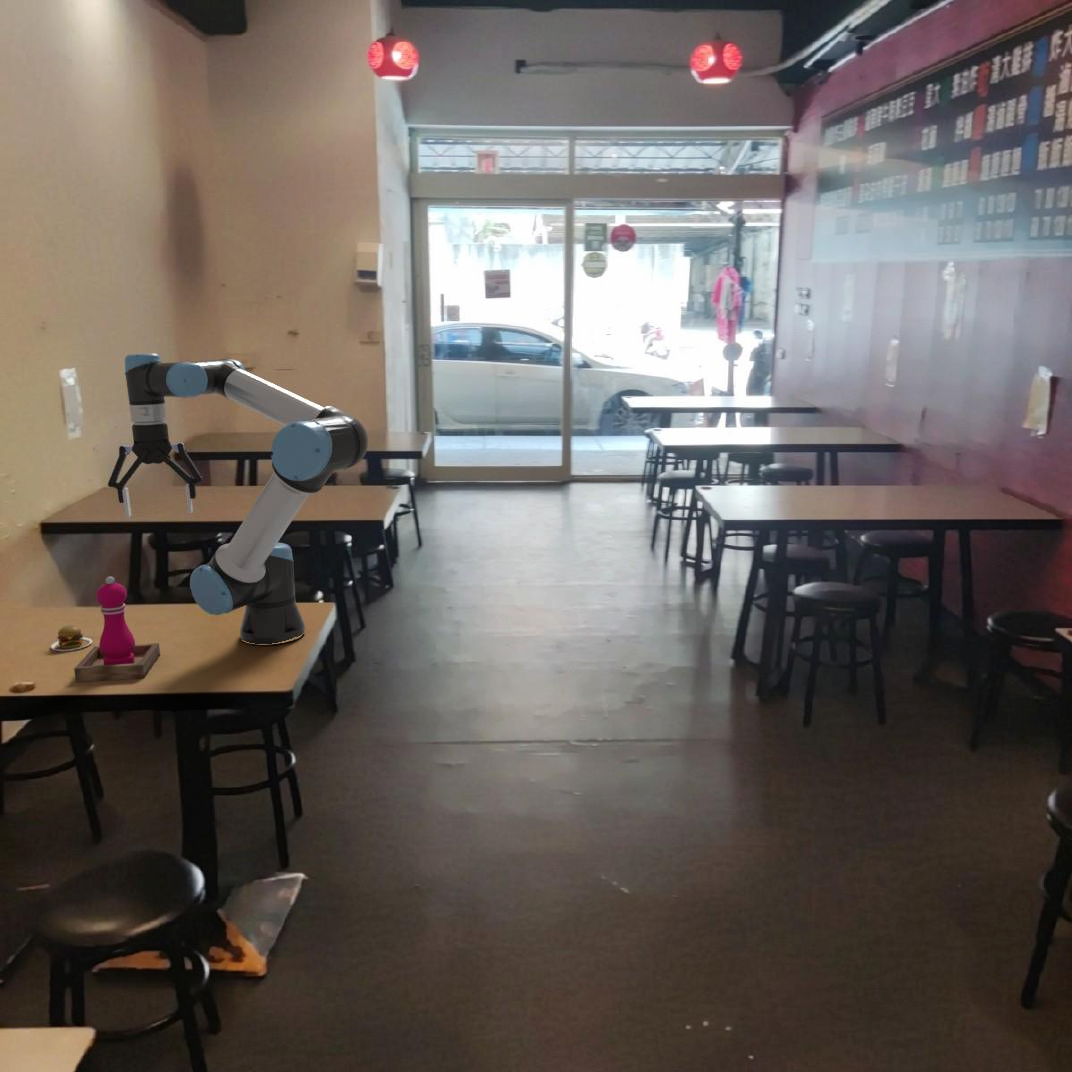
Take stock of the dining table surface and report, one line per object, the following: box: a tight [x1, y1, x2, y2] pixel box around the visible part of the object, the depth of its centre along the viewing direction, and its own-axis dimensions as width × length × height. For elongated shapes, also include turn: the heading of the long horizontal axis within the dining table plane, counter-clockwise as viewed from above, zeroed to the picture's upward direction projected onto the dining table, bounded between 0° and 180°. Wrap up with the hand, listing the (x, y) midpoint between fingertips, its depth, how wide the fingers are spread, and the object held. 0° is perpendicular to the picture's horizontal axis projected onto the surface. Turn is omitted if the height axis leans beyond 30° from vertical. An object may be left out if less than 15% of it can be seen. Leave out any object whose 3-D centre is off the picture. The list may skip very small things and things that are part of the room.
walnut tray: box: [73, 642, 161, 683], centre depth 211 cm, size 14×14×3 cm
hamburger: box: [50, 625, 93, 652], centre depth 226 cm, size 12×12×6 cm
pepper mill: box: [96, 576, 136, 665], centre depth 209 cm, size 7×7×20 cm
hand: (159, 514), depth 221 cm, fingers open, 13 cm apart
